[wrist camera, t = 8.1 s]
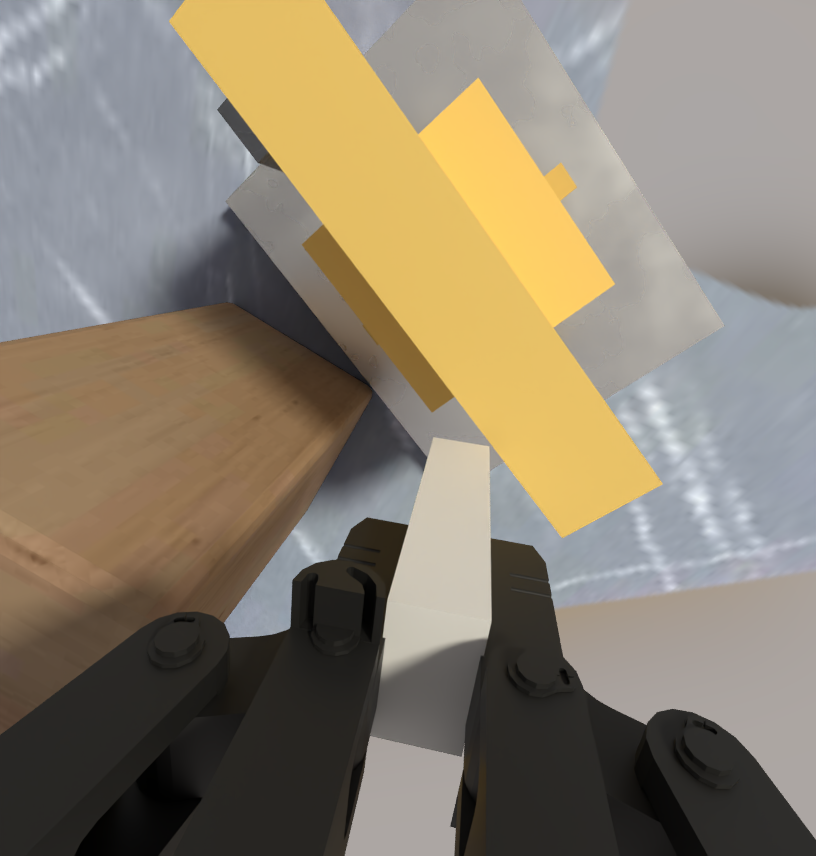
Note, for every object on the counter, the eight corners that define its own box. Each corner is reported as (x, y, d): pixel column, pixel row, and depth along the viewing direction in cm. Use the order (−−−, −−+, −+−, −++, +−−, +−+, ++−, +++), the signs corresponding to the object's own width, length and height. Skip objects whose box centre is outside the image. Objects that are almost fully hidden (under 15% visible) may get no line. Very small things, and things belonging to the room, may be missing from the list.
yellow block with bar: (468, 452, 26) (448, 599, 15) (272, 198, 24) (72, 148, 13) (662, 327, 23) (823, 397, 12) (455, 11, 20) (405, -291, 9)
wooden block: (306, 512, 33) (52, 856, 14) (174, 433, 32) (-265, 678, 14) (377, 388, 29) (163, 629, 10) (229, 297, 29) (-265, 379, 10)
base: (236, 203, 27) (98, 176, 18) (479, -51, 22) (467, -282, 12) (456, 483, 30) (438, 586, 21) (714, 322, 25) (844, 363, 16)
